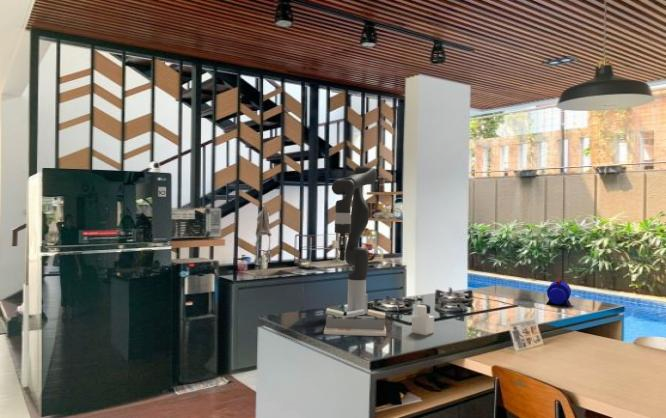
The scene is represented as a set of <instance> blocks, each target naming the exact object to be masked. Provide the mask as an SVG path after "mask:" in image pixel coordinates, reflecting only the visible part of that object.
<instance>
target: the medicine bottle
mask: <svg viewBox="0 0 666 418" xmlns="http://www.w3.org/2000/svg"><path fill="white" fill-rule="evenodd" d="M415 314H416V315H412V316H411V333H412V334H415V335H421V336H428V335H430V334H434V333H435V316H434V315H431V306H430V305H428V304H424V303H419V304H416V306H415Z"/></svg>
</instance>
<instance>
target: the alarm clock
mask: <svg viewBox="0 0 666 418" xmlns="http://www.w3.org/2000/svg"><path fill="white" fill-rule="evenodd" d="M546 290H547V291H546V296H547V298H548V301H546V305H550V304H554V305H564V306H566V307H568V308H570V306H571V305H572V303H571V301H570V300H569V299H570V296H571V294H572V289H571V287H570V285H569V284H568V283H567V282H565V281H564V280H562V278H560V277H558V278H557V280H555V281H552V282H551V283H550V284H549V287H548V288H547V289H546Z"/></svg>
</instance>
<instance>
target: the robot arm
mask: <svg viewBox="0 0 666 418" xmlns="http://www.w3.org/2000/svg"><path fill="white" fill-rule="evenodd" d="M377 177H378V176H377V170H376V168H375V167H373V166H362V165H361V166H356V167H355V168H354V172H353V174H351V175H348V176H347V177H343V178H337V179H336V180H334V181H333V182H332V184H331V191H332V192H333V194H335V195H338V196H344V197H343V198H342V199H339V200H336V202H335V211H334V212H335V214H334V215H335V216H334V233H335V234H339V236H338V239H337V240H338V241H337V242H338V248H339V249H338V251H339V261H345V263H346V264H347V265H350V266H353V267H354V270H353V271H351V272H349V273H348V275H347V311H346V313H347V312H350V311H356V310H361V309H364V315H365V314H367V312H368V294H367V275H368V273H369V253H368V250H367V249H366V248H363V247H359V243H360V238H361V236H362V234H363V233H364V231H365V230H366V227H367V226H368V224H369V219H370V218H369V216H370V209H369V206H368V203H367V201H366V199H365V197H364V196H363V191H362V187H364V186H367V185H373V184H375V182H376V181H377ZM346 234H348V237H347V236H346Z"/></svg>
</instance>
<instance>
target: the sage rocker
mask: <svg viewBox="0 0 666 418" xmlns="http://www.w3.org/2000/svg"><path fill="white" fill-rule="evenodd" d="M344 313H345V311H341V310H337V309H332V308H329V307H327V308H326V310H325V314H326V315H332V316H333V317H336V316H339V317H343V316H344Z"/></svg>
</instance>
